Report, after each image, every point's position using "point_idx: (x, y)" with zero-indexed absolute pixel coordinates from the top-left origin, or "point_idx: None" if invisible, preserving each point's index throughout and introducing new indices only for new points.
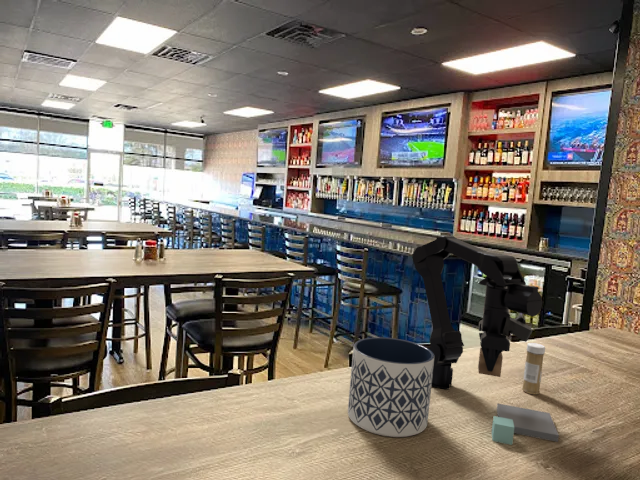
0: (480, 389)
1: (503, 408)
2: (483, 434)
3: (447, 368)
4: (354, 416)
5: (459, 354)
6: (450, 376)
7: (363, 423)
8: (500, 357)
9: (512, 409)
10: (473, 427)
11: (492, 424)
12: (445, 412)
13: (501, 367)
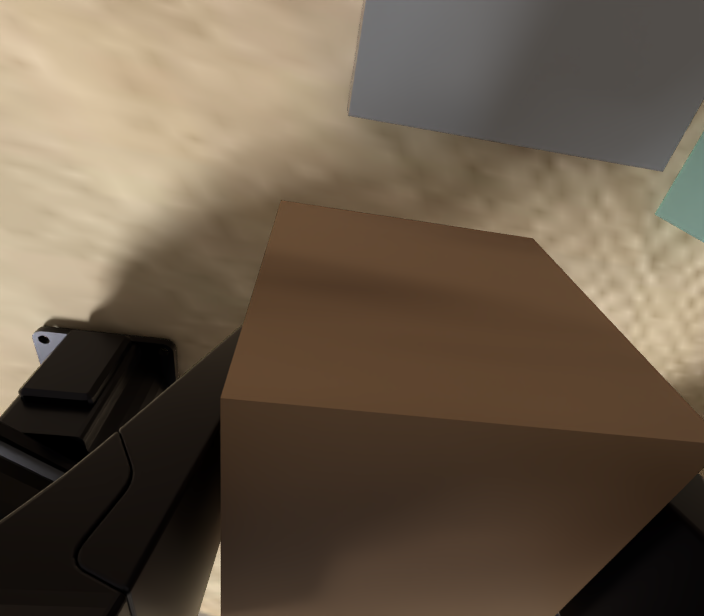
0: (28, 151)
1: (432, 89)
2: (667, 255)
3: (98, 435)
4: None
5: (5, 496)
6: (108, 378)
7: None
8: (686, 459)
9: (438, 11)
10: (596, 286)
11: (687, 232)
12: None
13: (594, 304)
